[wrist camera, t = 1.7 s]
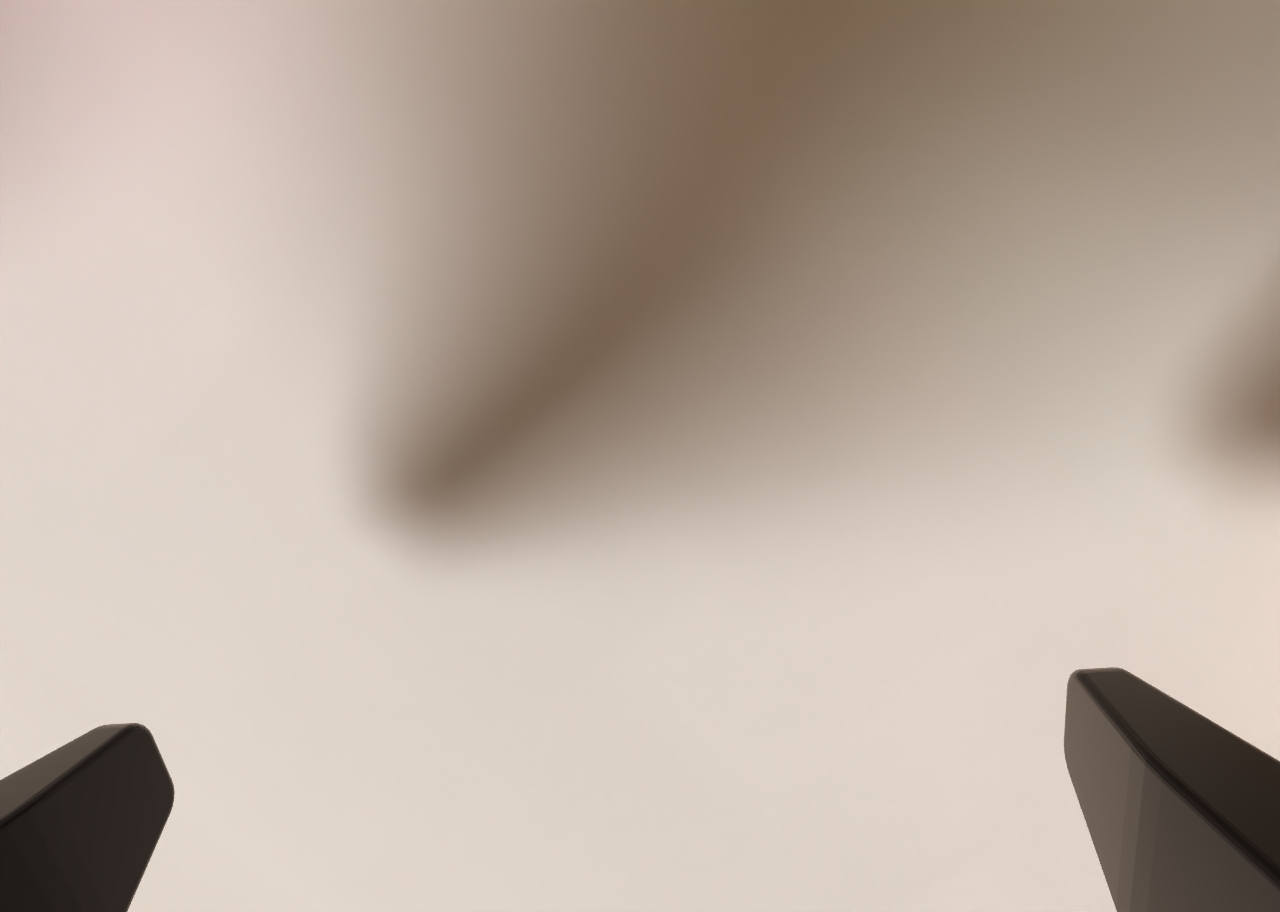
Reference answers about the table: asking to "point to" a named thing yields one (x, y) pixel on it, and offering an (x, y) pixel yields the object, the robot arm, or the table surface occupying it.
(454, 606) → the table surface
